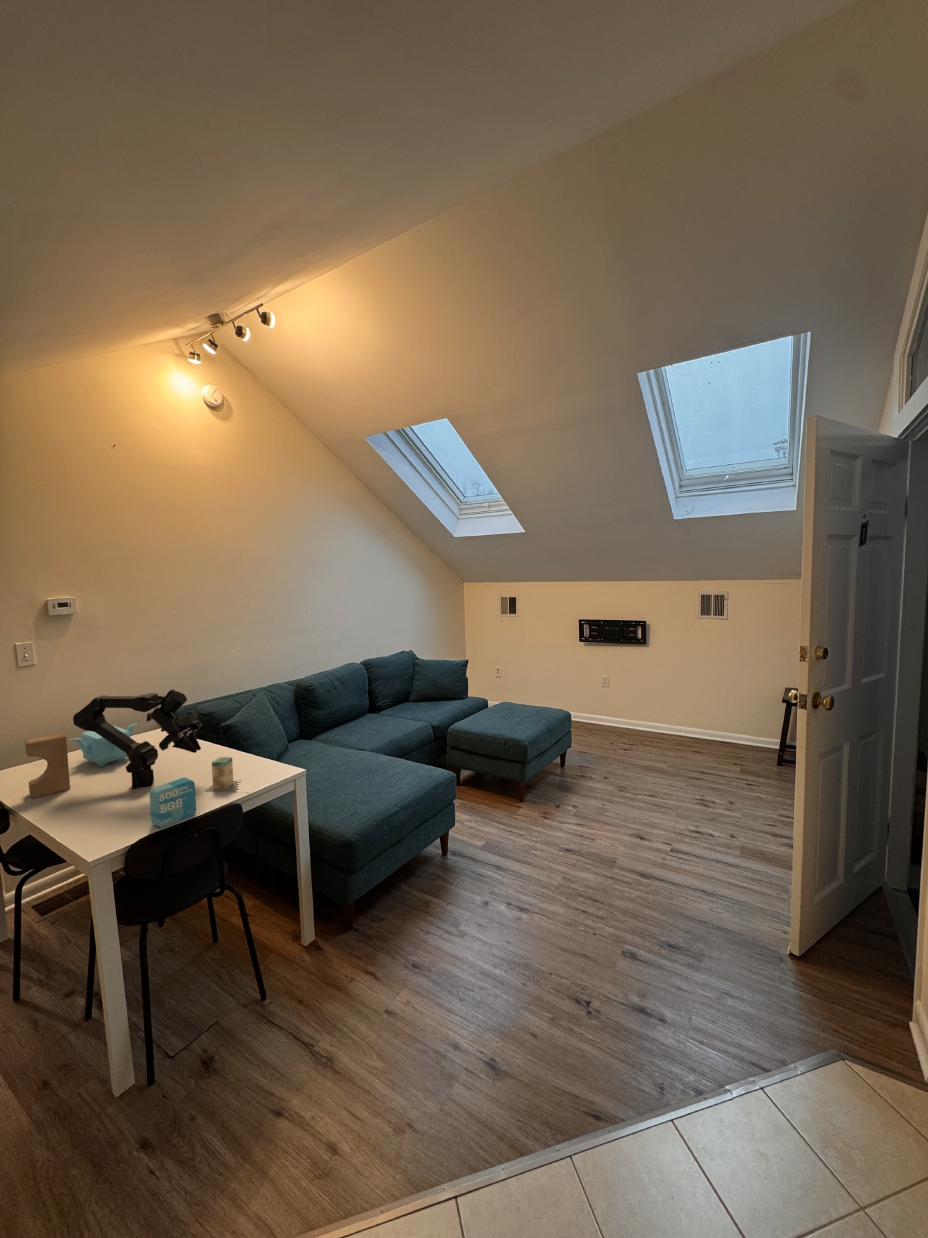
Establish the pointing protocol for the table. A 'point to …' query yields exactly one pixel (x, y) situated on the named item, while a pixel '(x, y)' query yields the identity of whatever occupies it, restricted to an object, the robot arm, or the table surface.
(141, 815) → the table surface
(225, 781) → the maple block
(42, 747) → the decorative block
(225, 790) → the slate mat
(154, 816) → the data package
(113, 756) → the teakettle
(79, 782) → the table surface
